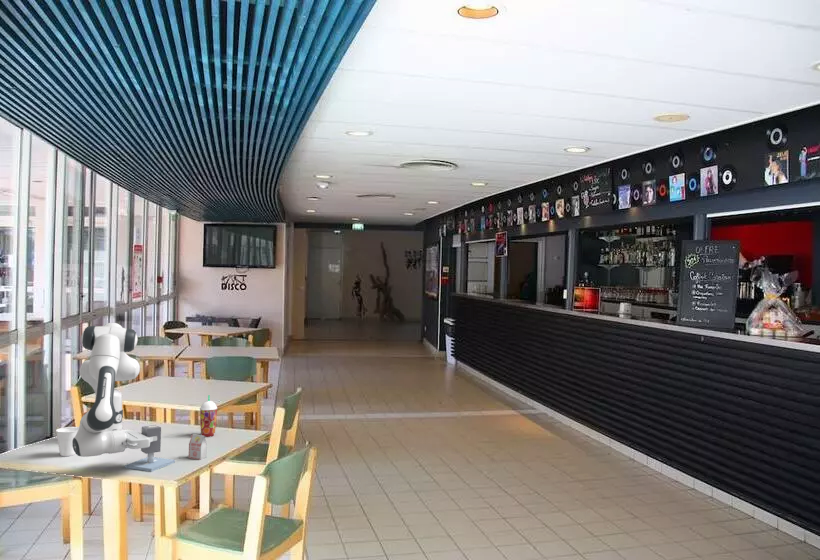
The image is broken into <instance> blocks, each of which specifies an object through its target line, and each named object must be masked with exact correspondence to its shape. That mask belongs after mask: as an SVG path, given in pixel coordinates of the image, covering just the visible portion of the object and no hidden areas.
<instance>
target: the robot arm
mask: <svg viewBox="0 0 820 560" xmlns="http://www.w3.org/2000/svg"><path fill="white" fill-rule="evenodd" d="M138 338H139V337H138V334H137V332H136V331H135V330H134V329H132V328H128V327H127V328H126V327H123V326H122V325H121V324H119V323H117V322H108V323H106V324H104V325H103V326H99V325H98V326H97V325H89V326H86V327H85V328H84V330H83V331H82V333H81V337H80V339H81V340H80V341H81V344H82V347H83V348H84V349H85V350H87V351H91V352H90V357H89V359H87V360H84V361H83V362H82V363H81V364H80V367H79V375H80V377H81V379H82V380H83V381H84V382H86V383H88V385H89V386H90V387H91V388H92V389H93V392H94V394H95V399H94V403H93V405H92V406H91V408H90V409H89V410H88V411H87V412H86V413H84V414H83V415H82V417H81V419H80V421H79V426H78V427H79V429H78V432H77V434H76V436H75V437H74V438H73V441H72V443H73V444H72V445H73V449H74V452H75V453H76V454H75V455H77V457H81V458H82V457H83V458H85V457H86V458H88V457H97V456H102V455H104V454H109V455H111V454H116V453H118V454H119V453H124V452H125V451H126V449H131V450H138V449H141V448H147V447H149V446H150V442H152V441H157V436H152V437H146V436H145V435H143V434H142V432H138V431H137V430H135V429H124V428H123V427H124V425H123V418H124V410H123V393H122V391H120V390H119V389H116V388H115V387H116V386H115V384H116V382H126V381H131V380H135V379H136V378H137V377H138V375H139V374H140V371H141V366H140V363H139V361H138V360H137V359H136V358H133V357H131V356H129V355H128V354H127V353H130V352H132V351H134V350H135V348H136V347H137V344H138V341H139V339H138Z"/></svg>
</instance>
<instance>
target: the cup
mask: <svg viewBox="0 0 820 560" xmlns="http://www.w3.org/2000/svg"><path fill="white" fill-rule="evenodd" d="M78 429H79V426H65V427H60V428H56V429H55V432H56V436H57V445H58V450H59V456H61V457H72V456H75V455H77V454H76V453H75V452H74V449H73V445H72V444H73V443H72V441H73V438H74V437H75V436H76V434H77V432H78Z"/></svg>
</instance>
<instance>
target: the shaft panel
mask: <svg viewBox="0 0 820 560" xmlns="http://www.w3.org/2000/svg"><path fill="white" fill-rule="evenodd" d="M175 463H176V460H175V459H171V458H165V457H163V458H162V457H157V456H156V457H155V453H148V454H147V455H146V457H144V458H142V459H138V460H136V461H133V462H130V463H127V464H125V466H124V467H125V469H128V470H129V469H130V470H136V471H143V472H152V473H153V472H154V471H157V470H160V469H161V468H165V467H168V466H170V465H172V464H175Z"/></svg>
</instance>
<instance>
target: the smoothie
mask: <svg viewBox="0 0 820 560" xmlns="http://www.w3.org/2000/svg"><path fill="white" fill-rule="evenodd" d="M207 397H208V398H207V400H206V401H204V402H202V404H201V405H200V407H199V415H200V417H199V418H200V421H199V422H200V435H203V436H205V438H208V437H210V436H211V437H213V436H214V435H215V434H216V429H217V427H216V426H217V418H218V417H217V416H218V414H217V413H218V406H217V404H216V403H215V402H214V401H213V400H210V399H211V398H210V397H211V396H210V395H209V394H208V396H207ZM211 437H210V438H211Z"/></svg>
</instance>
